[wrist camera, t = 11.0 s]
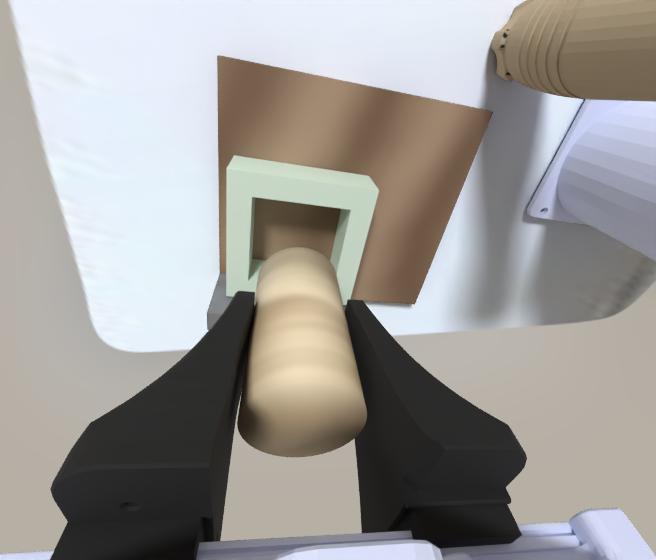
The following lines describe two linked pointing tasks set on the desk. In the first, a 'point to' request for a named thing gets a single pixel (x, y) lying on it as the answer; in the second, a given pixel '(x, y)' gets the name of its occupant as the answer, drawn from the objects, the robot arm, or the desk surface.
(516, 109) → the desk surface
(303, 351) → the dowel
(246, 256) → the collar block
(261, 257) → the board
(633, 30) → the handle
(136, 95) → the desk surface
